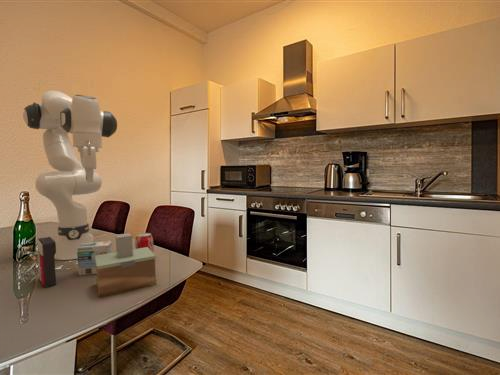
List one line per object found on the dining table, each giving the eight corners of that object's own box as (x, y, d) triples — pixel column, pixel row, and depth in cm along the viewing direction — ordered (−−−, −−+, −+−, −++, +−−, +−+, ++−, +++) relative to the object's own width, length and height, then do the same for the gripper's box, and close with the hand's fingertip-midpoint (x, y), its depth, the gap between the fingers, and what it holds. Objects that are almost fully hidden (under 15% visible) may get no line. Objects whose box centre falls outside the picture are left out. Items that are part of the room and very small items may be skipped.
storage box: (96, 283, 94) (95, 258, 93) (148, 272, 103) (147, 249, 102) (99, 297, 83) (97, 268, 83) (155, 283, 93) (154, 258, 92)
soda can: (147, 265, 110) (146, 236, 109) (132, 264, 112) (131, 236, 111) (157, 260, 117) (156, 232, 116) (142, 259, 119) (141, 232, 118)
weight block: (116, 254, 93) (115, 234, 93) (130, 252, 95) (129, 233, 95) (118, 258, 89) (117, 237, 89) (132, 255, 92) (131, 235, 91)
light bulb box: (77, 275, 101) (76, 247, 100) (83, 269, 107) (82, 242, 107) (109, 272, 104) (107, 245, 103) (113, 266, 110) (111, 240, 110)
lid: (94, 260, 93) (94, 255, 93) (147, 251, 102) (147, 246, 102) (97, 272, 82) (96, 266, 82) (156, 260, 91) (156, 256, 91)
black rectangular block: (38, 279, 98) (35, 238, 97) (52, 275, 101) (50, 236, 100) (43, 288, 91) (39, 244, 89) (58, 284, 94) (55, 241, 92)
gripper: (100, 141, 88) (102, 183, 89) (96, 144, 105) (97, 179, 107) (77, 140, 85) (79, 183, 86) (77, 143, 102) (78, 179, 103)
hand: (89, 181), depth 96 cm, fingers open, 8 cm apart
